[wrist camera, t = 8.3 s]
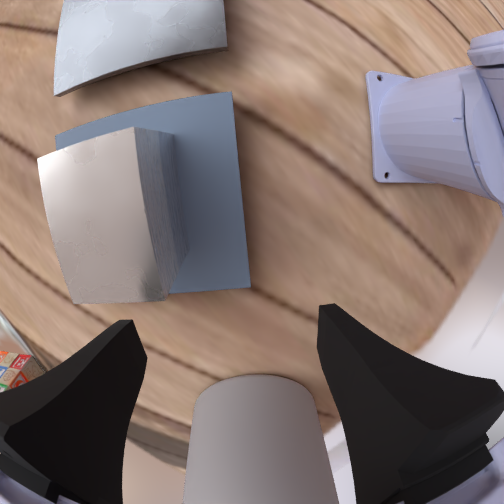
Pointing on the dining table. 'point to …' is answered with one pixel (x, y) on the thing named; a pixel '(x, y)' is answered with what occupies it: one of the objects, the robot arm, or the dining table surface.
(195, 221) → the stand
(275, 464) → the cylinder vase
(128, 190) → the block
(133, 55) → the stand
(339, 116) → the dining table surface
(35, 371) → the stack of blocks
